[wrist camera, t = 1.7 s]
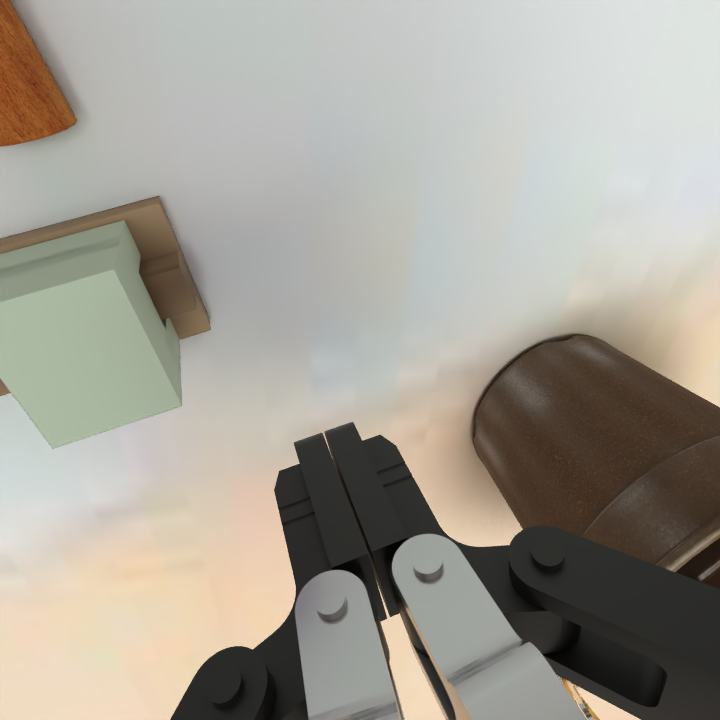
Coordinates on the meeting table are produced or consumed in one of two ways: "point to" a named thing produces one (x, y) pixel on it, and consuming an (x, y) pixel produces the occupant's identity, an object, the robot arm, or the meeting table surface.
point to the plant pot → (607, 454)
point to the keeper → (84, 336)
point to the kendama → (26, 87)
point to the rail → (157, 262)
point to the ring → (579, 700)
